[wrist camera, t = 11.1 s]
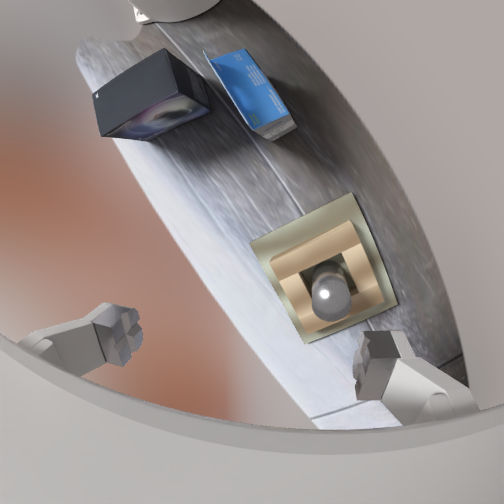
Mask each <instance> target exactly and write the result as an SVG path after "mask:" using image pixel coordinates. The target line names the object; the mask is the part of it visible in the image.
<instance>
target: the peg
mask: <svg viewBox="0 0 504 504" xmlns="http://www.w3.org/2000/svg"><path fill="white" fill-rule="evenodd" d="M351 306H352V299H351V295H350V292H349V288H348V285H347V282H346V278H345V275H344V272H343V269H342V267H341V266H340V265H339V264H338V263H336V262H334V261H330V260H327V261H323V262H320V263H319V264H318V265H317V266H316V267H315V268H314V270H313V273H312V309H313V312H314V313H315V315H316V316H317V317H318V318H320V319H321V320H324V321H328V322H334V321H338V320H340V319H342V318H344V317H345V316H346V315H347V314H348V313H349V311H350V309H351Z"/></svg>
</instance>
